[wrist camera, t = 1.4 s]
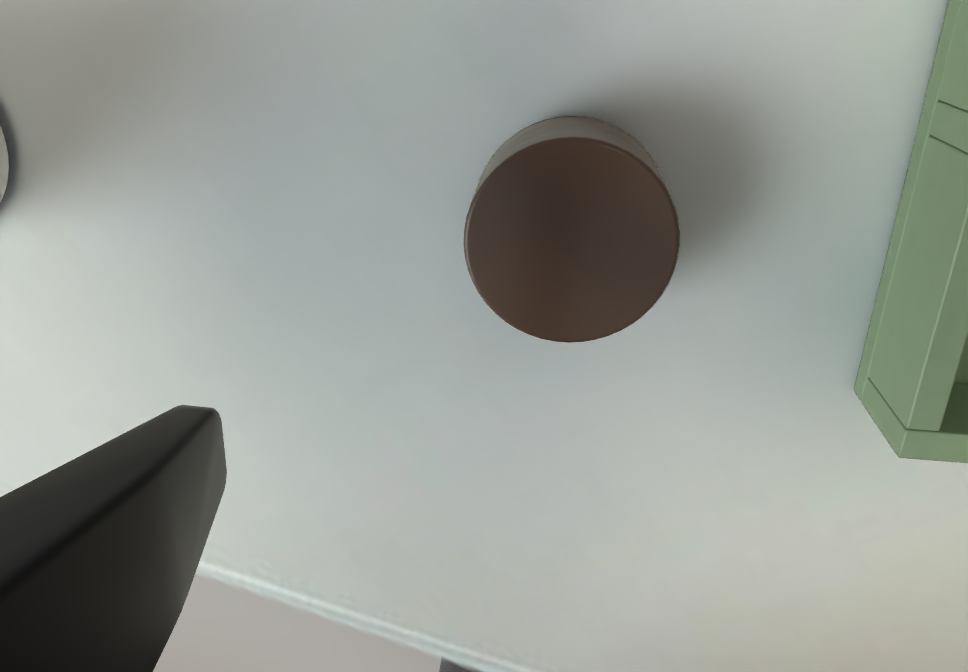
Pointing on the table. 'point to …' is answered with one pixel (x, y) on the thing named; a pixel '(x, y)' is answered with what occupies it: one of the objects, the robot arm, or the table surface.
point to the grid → (927, 277)
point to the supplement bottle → (3, 164)
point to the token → (571, 231)
